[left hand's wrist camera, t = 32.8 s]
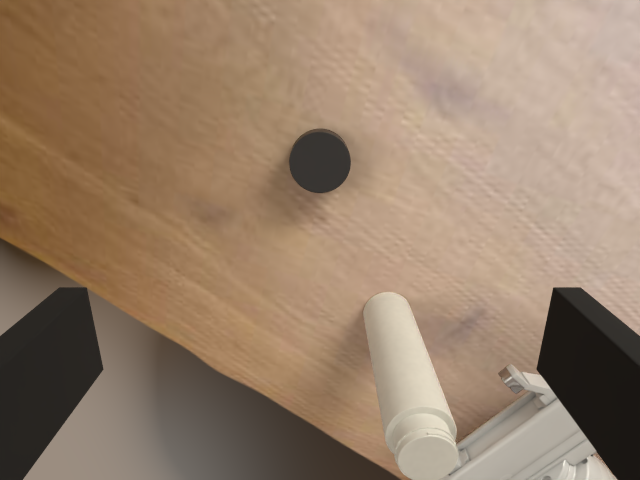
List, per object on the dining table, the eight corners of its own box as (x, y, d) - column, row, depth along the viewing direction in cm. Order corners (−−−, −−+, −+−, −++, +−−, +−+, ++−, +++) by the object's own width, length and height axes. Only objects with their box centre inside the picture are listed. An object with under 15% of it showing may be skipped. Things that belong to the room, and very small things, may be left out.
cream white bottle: (406, 334, 47) (458, 490, 29) (360, 331, 47) (384, 485, 29) (413, 293, 45) (472, 432, 28) (365, 290, 45) (394, 427, 28)
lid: (311, 116, 39) (311, 119, 37) (360, 150, 40) (362, 154, 38) (279, 166, 41) (277, 171, 38) (327, 197, 42) (328, 204, 39)
